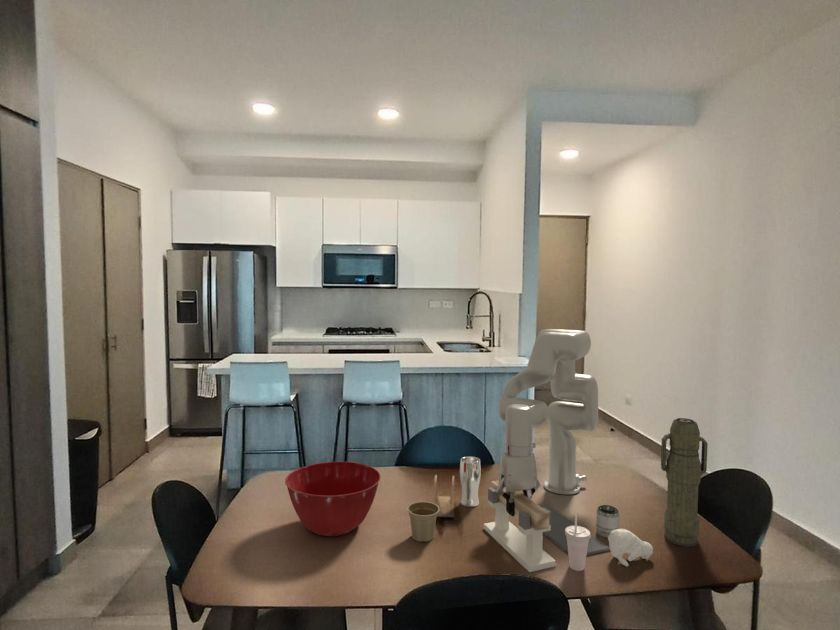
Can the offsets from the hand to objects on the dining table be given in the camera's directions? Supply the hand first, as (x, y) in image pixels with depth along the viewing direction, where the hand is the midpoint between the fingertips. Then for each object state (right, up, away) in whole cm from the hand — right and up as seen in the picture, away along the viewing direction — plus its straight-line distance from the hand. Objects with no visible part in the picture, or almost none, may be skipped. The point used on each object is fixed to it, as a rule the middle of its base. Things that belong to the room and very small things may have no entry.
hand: (517, 512), depth 144 cm
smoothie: (+13, -11, -10) cm, 20 cm away
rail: (0, +1, 0) cm, 1 cm away
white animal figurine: (+29, -10, -7) cm, 32 cm away
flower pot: (-27, -9, +5) cm, 29 cm away
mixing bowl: (-54, -9, +12) cm, 56 cm away
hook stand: (0, -10, 0) cm, 10 cm away
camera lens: (+28, -10, +8) cm, 31 cm away
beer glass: (-11, -8, +28) cm, 31 cm away
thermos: (+48, -10, +5) cm, 50 cm away
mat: (+14, -9, +10) cm, 20 cm away
